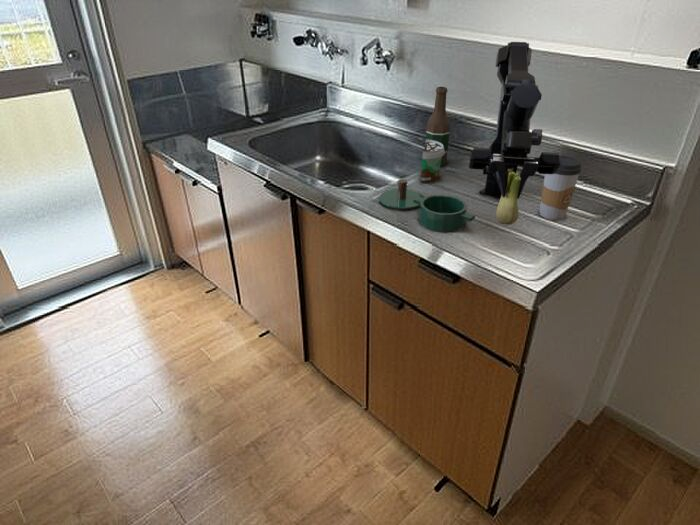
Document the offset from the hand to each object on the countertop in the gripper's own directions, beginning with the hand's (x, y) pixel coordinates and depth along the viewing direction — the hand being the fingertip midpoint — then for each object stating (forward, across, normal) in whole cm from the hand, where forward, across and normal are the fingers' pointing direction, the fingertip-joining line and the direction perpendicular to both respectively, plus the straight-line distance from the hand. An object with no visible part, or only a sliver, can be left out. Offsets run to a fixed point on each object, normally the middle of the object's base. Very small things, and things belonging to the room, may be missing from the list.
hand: (510, 197), depth 107 cm
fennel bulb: (+4, 0, +6) cm, 7 cm away
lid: (-6, -26, +25) cm, 36 cm away
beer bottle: (-28, -18, +48) cm, 58 cm away
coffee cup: (-5, +14, +25) cm, 29 cm away
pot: (+1, -14, +18) cm, 23 cm away
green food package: (-19, -18, +39) cm, 47 cm away
